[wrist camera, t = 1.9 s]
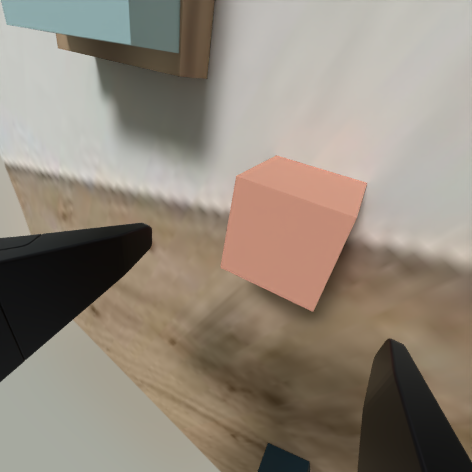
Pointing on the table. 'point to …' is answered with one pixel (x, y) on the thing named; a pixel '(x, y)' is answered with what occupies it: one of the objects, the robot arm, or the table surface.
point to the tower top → (102, 20)
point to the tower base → (179, 64)
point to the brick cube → (290, 227)
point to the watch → (282, 461)
